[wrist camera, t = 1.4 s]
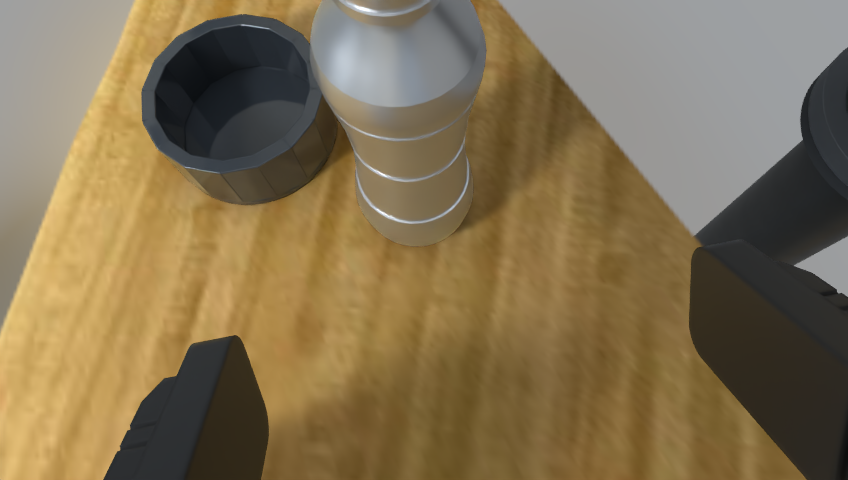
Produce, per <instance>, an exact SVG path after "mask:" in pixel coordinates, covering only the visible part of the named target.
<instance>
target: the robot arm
mask: <svg viewBox="0 0 848 480" xmlns="http://www.w3.org/2000/svg"><path fill="white" fill-rule="evenodd" d="M846 105H847V112H848V88H847V94H846ZM689 328H690V334H691V338H692V341H693V344H694V346H695V348H696V350H697V352H698V354H699V355H700V357H701V358H702V359H703V360H704V362H705V363H706V364H707V365H708V366H709V367H710V368H711V370H712V371H713V372H714V373H715V374H716V375H717V377H718V378H719V379H720V380H721V381H722V382H723V383H724V385H725V386H726V387H727V388H728V389H729V390H730V392H731V393H732V394H733V395H734V396H735V397H736V398H737V400H738V401H739V402H740V403H741V404H742V405H743V406H744V408H745V409H746V410H747V411H748V412H749V413H750V415H751V416H752V417H753V418H754V419H755V420H756V421H757V423H758V424H759V425H760V426H761V427H762V428H763V429H764V431H765V432H766V433H767V434H768V435H769V436H770V438H771V439H772V440H773V441H774V442H775V443H776V444H777V446H778V447H779V448H780V449H781V450H782V451H783V452H784V454H785V455H786V456H787V457H788V458H789V459H790V461H791V462H792V463H793V464H794V465H795V466H796V467H797V469H798V470H799V471H800V472H801V473H802V474H803V475H804V477H805V478H806V479H807V480H848V297H847V296H845V295H844V294H842V293H840V294H838V293H837V290H836V289H835V288H834V287H832V286H831V285H829V284H828V283H826V282H825V281H823V280H822V279H820V278H819V277H818V276H816V275H815V274H813V273H811V272H808V271H806V270H803V269H800V268H797V267H795V266H792V265H789V264H787V263H784V262H781V261H777V262H775V261H774V260H772V259H771V258H769V257H768V256H767V255H765V254H764V253H762V252H761V251H760V250H758V249H757V248H755V247H754V246H753V245H751V244H750V243H748V242H747V241H745V240H735V241H730V242H725V243H719V244H714V245H709V246H704V247H699V248H697V249H696V250H695V251H694V253H693V255H692V261H691V284H690V310H689ZM130 428H131V429H130V430H128V431H127V433H126V435H125V437H124V439H123V441H122V443H121V445H120V451H117V453H116V455H115V457H114V459H113V461H112V463H111V465H110V467H109V469H108V471H107V473H106V475H105V477H104V479H103V480H261V476H262V471H263V466H264V460H265V455H266V450H267V444H268V437H269V425H268V416H267V411H266V407H265V403H264V400H263V398H262V395H261V392H260V389H259V386H258V384H257V381H256V378H255V375H254V372H253V369H252V367H251V364H250V361H249V358H248V355H247V352H246V350H245V347H244V344H243V342H242V341H241V339H240V338H239V337H238V336H236V335H234V336H229V337H224V338H219V339H213V340H208V341H203V342H198V343H193V344H192V345H191V346H190V347H189V349H188V351H187V353H186V356H185V358H184V360H183V363H182V365H181V367H180V369H179V372H178V374H177V376H175V377H169V378H164V379H163V380H162V381H161V382H160V383H159V384H158V385H157V386H156V387H155V389H154V390H153V391H152V392H151V393H150V394H149V395H148V396H147V397H146V398H145V399H144V400H143V401H142V402H141V404H140V406H139V408H138V410H137V412H136V414H135V416H134V418H133V420H132V423H131V425H130Z"/></svg>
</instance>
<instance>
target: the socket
mask: <svg viewBox="0 0 848 480" xmlns="http://www.w3.org/2000/svg"><path fill="white" fill-rule="evenodd" d="M154 61H155V62H153V65H152V67H151V69H150V72H149V74H148V76H147V79H146V81H145V84H144V86H143V88H142V121H143V124H144V126H145V128H146V130H147V132H148V133H149V135H150V137H151V139H152V141H153V142H154V144H155V146H156V148H157V149H158V150H159V151H160V152H161V153H162V154H163V155H164V156H165V158H166V159H167V160H168V161H169V162H170V163H171V164H172V165H173V166H174V167H175V168H176V169H177V170H178V171H179V172H180V173H181V174H182V175H183V176H184V177H185V178H186V179H187V180H188V181H189V182H191V183H192V184H194V185H195V186H196V187H197V188H199V189H200V190H201V191H202V192H204V193H206V194H207V195H209V196H211V197H213V198H215V199H218V200H220V201H224V202H228V203H233V204H241V205H253V204H261V203H267V202H271V201H275V200H277V199H280V198H283V197H285V196H287V195H289V194H291V193H293V192H295V191H297V190H298V189H300V188H301V187H303V186H304V185H305V184H306V183H308V182H309V181H310V180H311V179H312V178H313V177H314V176H315V175H316V174H317V173H318V172H319V171H320V169H321V168H322V167H323V165H324V164H325V162H326V161H327V159H328V157H329V155H330V153H331V151H332V148H333V145H334V142H335V138H336V132H337V117H336V116H335V114H334V112H333V111H332V109H331V108H330V106H329V104H328V103H327V102H326V100H325V98H324V96H323V94H322V92H321V90H320V88H319V86H318V84H317V81H316V79H315V77H314V75H313V72H312V67H311V63H310V44H309V43H308V41H307V40H306V38H305V37H304V35H302V34H301V33H299V32H298V31H296V30H294V29H292V28H291V27H289V26H287V25H285V24H284V23H282V22H280V21H278V20H277V19H273V18H267V17H260V16H253V15H247V14H243V15H242V14H240V15H234V16H229V17H223V18H217V19H212V20H207V21H205V22H203V23H201V24H199V25H198V26H196V27H194V28H192V29H190V30H188V31H186V32H184V33H182V34H181V35H179V36H178V37H176V38H175V39H174V40H173V41H172V42H171V43H170V44H169V46H168V47H167V48H166V49H165V50H164V51H163V52H162V53H161V54H160V55H159V56H158V57H157V58H156V59H155V60H154Z"/></svg>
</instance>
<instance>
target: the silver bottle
mask: <svg viewBox="0 0 848 480" xmlns="http://www.w3.org/2000/svg"><path fill="white" fill-rule="evenodd" d="M485 59H486V44H485V36H484V33H483V30H482V27H481V24H480V22H479V19H478V16H477V13H476V11H475V8H474V6H473V4H472V3H471V1H470V0H322V1H321V3H320V5H319V7H318V9H317V11H316V14H315V16H314V19H313V24H312V29H311V37H310V63H311V67H312V72H313V75H314V77H315V79H316V81H317V84H318V86H319V88H320V90H321V92H322V94H323V96H324V98H325V100H326V102H327V103H328V104H329V106H330V108H331V109H332V111H333V112H334V114H335V116H336V117H337V119H338V120H339V122H340V123H341V125H342V126H343V128H344V130H345V131H346V134H347V136H348V138H349V141H350V143H351V145H352V148H353V150H354V155H355V162H356V171H355V183H356V196H357V200H358V204H359V206H360V209H361V211H362V213H363V215H364V216H365V217H366V219H367V220H368V221H369V223H370V224H371V225H372V226H373V227H374V228H375V229H376V230H377V231H378V232H379V233H381V234H382V235H383V236H384V237H386V238H388V239H389V240H391V241H393V242H395V243H398V244H401V245H405V246H412V247H418V246H427V245H432V244H435V243H437V242H440V241H442V240H444V239H446V238H447V237H448V236H450V235H451V234H452V233H453V232H454V231H455V230H456V229H457V228H458V227H459V226H460V224H461V223H462V221H463V219H464V218H465V216H466V214H467V212H468V211H469V209H470V206H471V203H472V199H473V191H474V186H473V177H472V172H471V167H470V164H469V161H468V158H467V156H466V149H465V136H466V131H467V124H468V118H469V115H470V112H471V109H472V106H473V103H474V100H475V97H476V94H477V92H478V89H479V86H480V83H481V80H482V76H483V71H484V67H485Z"/></svg>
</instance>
